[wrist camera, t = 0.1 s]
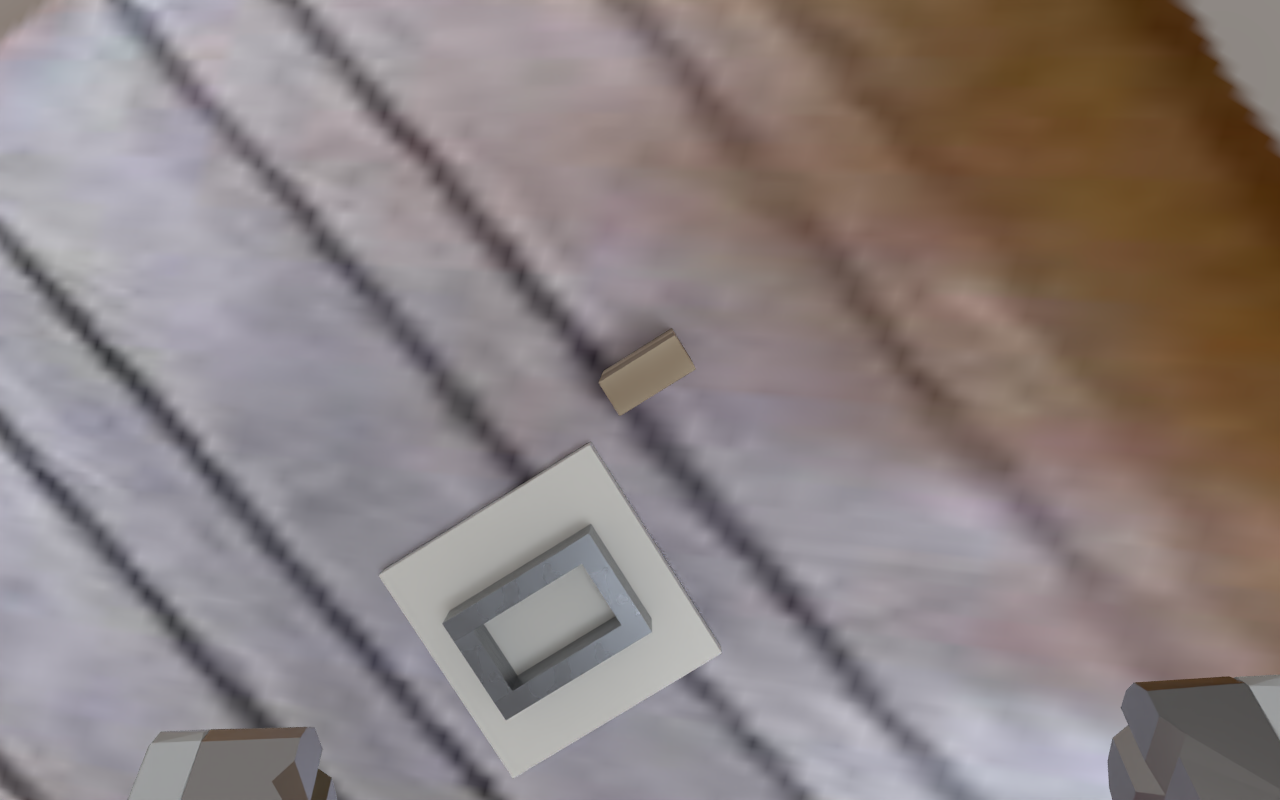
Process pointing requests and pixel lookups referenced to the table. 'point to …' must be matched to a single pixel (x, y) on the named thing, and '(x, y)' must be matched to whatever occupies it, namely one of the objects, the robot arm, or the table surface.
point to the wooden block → (646, 372)
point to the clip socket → (566, 662)
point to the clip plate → (552, 607)
